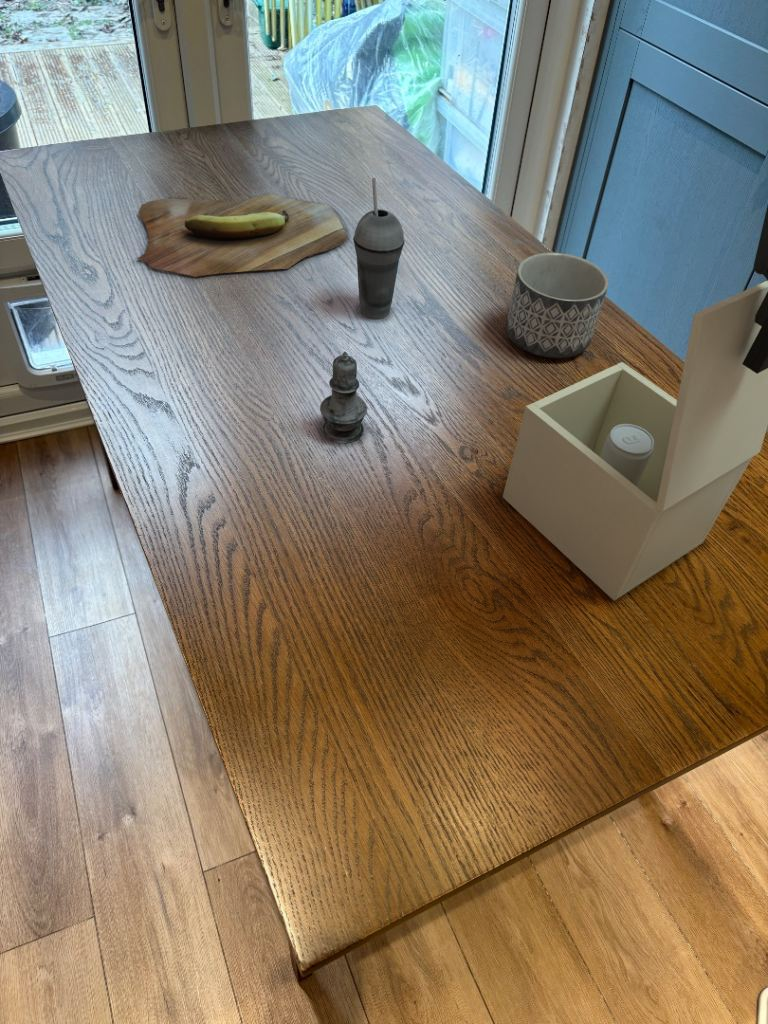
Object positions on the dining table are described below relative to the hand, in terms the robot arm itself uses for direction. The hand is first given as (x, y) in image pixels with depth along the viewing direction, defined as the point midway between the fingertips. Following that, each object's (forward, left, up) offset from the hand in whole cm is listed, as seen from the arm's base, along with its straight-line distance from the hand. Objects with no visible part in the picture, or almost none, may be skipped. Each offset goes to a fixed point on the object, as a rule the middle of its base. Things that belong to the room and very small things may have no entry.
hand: (759, 363), depth 63 cm
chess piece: (+37, +17, -28) cm, 49 cm away
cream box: (+8, 0, -27) cm, 29 cm away
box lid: (+1, 0, -4) cm, 4 cm away
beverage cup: (+57, -2, -28) cm, 63 cm away
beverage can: (+8, +1, -27) cm, 28 cm away
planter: (+38, -20, -28) cm, 51 cm away
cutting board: (+88, +4, -28) cm, 92 cm away
